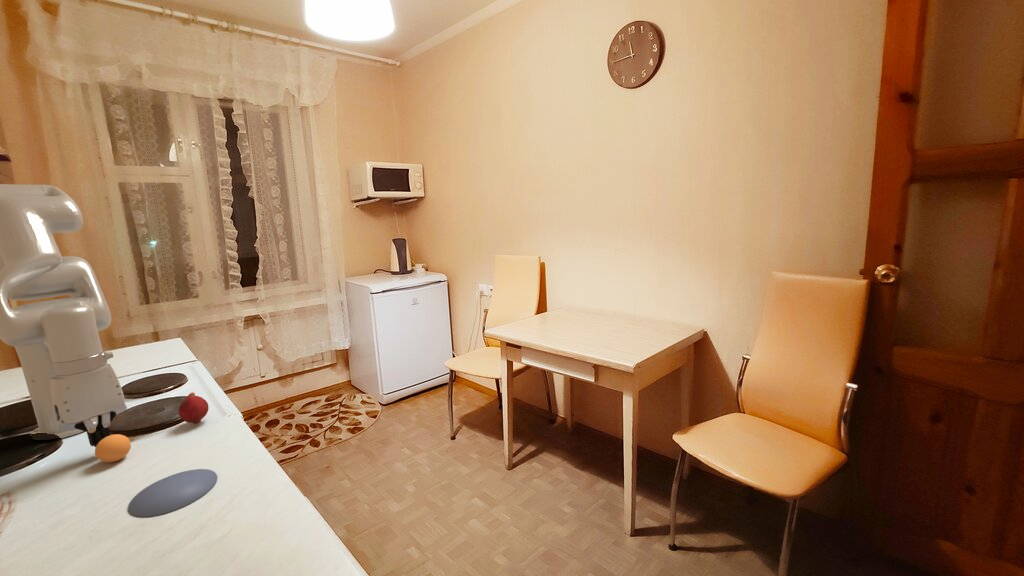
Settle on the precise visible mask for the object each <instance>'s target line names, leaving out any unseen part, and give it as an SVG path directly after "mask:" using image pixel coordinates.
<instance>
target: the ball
mask: <svg viewBox="0 0 1024 576" xmlns="http://www.w3.org/2000/svg"><path fill="white" fill-rule="evenodd" d="M131 447H132V443H131V440H130V438H128V437H127V436H126V435H123V434H119V433H118V434H117V433H116V434H110V436H107V437H105V438H104V439H102V440H101V441H100V442H99V443H98V444H97V446H96V447H95V450H94V455H95V457H96V458H97V460H99V461H101V462H104V463H115V462H118V461H119V460H122V459H124V458H125V457H126V456H127V455H128V454H129V452H130V451H131Z"/></svg>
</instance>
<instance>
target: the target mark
mask: <svg viewBox="0 0 1024 576" xmlns="http://www.w3.org/2000/svg"><path fill="white" fill-rule="evenodd" d="M217 483H218V475H217V473H216V472H215V471H214V470H212V469H205V468H198V469H197V468H196V469H189V470H185V471H184V470H183V471H181V472H178V473H174V474H171V475H169V476H166V477H164V478H162V479H159V480H157V481H155V482H153V483H151V484H150V485H148V486H146V487H145V488H143V489H142V490H141V491H139V492H138V493H137V494H136V495H135V496H134V497H132V499H131V500H130V501H129V503H128V512H129V514H130V515H131V516H134V517H139V518H151V517H156V516H160V515H166V514H168V513H171V512H174V511H177V510H180V509H182V508H185V507H186V506H190V504H192V503H195V502H196V501H197V500H199V499H201V498H202V497H204V496H205V495H206V494H207V493H209V492H210V491H211V490H212V489H213V488H214V487H215V486H216V484H217Z"/></svg>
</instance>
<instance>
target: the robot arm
mask: <svg viewBox="0 0 1024 576" xmlns="http://www.w3.org/2000/svg"><path fill="white" fill-rule="evenodd" d="M83 225H84V217H83V214H82V211H81V209H80V207H79V206H78V204H77V203H76V202H75V201H74V199H73V198H72V197H71V196H69V195H68V194H67V193H66V192H65V191H63V190H62V189H60V188H59V187H57V186H55V185H51V184H30V183H29V184H26V183H25V184H18V183H14V184H11V183H0V340H1V342H3V343H4V344H5V345H7V346H10V347H14V350H15V351H16V352H15V353H16V354H17V358H18V360H19V362H20V366H21V369H22V373H23V376H24V379H25V384H26V387H27V391H28V394H29V397H30V401H31V405H32V408H33V411H34V415H35V418H36V423H37V426H38V427H37V428H35V429H33V431H31V433H30V435H31V434H36V433H47V434H55V435H57V436H59V437H60V438H61V439H64V438H67V437H72V436H74V435H77V434H81V433H83V432H86V435H87V439H88V443H89V444H90V446H91V447H95V448H96V446H97V444H98V443H99V442H100V441H101V440H102V439H104V438H105V437H107V436H110V435H111V433H110V429H109V427H110V426H111V423H112V422H113V420H114V418H116V416H117V415H119V414H121V413H124V412H125V411H126V410H127V409H128V407H127V405H126V404H125V403H126V399H125V395H124V391H123V388H122V385H121V383H120V381H119V378H118V376H117V374H116V372H115V370H114V369H113V367H112V365H111V364H109V363H108V360H110V359H112V358H114V353H113V352H112V351H107V352H105V351H104V349H103V346H102V345H103V344H102V342H101V336H100V335H99V332H101V331H104V330H106V329H108V328H109V327H110V326H111V323H112V313H111V310H110V307H109V304H108V302H107V300H106V298H105V295H104V292H103V289H102V288H101V284H100V283H99V281H98V278H97V276H96V273H95V272H94V270H93V267H92V265H90V263H89V262H88V261H87V260H86V259H84V258H82V257H79V256H75V255H74V256H73V255H70V256H69V255H68V256H62V253H61V251H60V249H59V245H58V244H57V242H56V240H55V237H54V234H64V233H67V234H69V233H75V232H76V233H77V232H79V231H80V230H81V229H82V227H84V226H83ZM64 296H69V297H64ZM70 296H71V297H70ZM55 297H62V298H58V299H49V298H55ZM63 297H64V298H63ZM42 299H48V300H42ZM9 300H11V301H15V302H17V301H18V302H19V301H22V302H24V301H35V300H42V301H35V302H30V303H25V304H20V305H17V306H14V307H12V308H11V306H10V304H9Z"/></svg>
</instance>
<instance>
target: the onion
mask: <svg viewBox="0 0 1024 576" xmlns="http://www.w3.org/2000/svg"><path fill="white" fill-rule="evenodd" d="M195 394H196V393H195V392H194V391H192V392H190V393H189V394H188V395H187V397H185V399H183V401H181V403H180V405H179V406H178V412H177V413H178V416H179V418H180V419H182V421H184V422H186V423H190V424H195V425H197V424H200V422H201V420H203V419H204V418H205V417H206V415H207V414H208V412H209V409H210V407H209V404H208V401H207V400H206V399H205V398H204V397H201V396H198V395H195Z"/></svg>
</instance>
